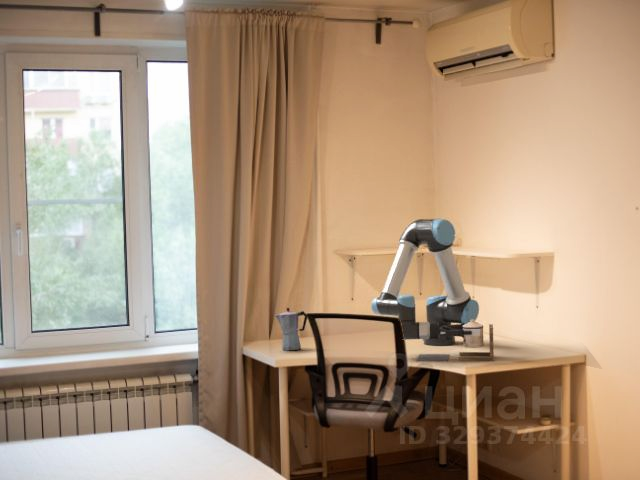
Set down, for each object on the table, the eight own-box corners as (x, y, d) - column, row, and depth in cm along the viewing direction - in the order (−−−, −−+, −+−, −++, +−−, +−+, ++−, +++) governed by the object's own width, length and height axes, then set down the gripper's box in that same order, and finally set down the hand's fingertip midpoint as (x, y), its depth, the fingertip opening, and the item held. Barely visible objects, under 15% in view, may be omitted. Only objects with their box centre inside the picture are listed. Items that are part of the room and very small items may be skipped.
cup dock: (459, 355, 380) (458, 324, 379) (493, 355, 377) (492, 324, 376) (458, 360, 367) (457, 328, 366) (493, 361, 364) (493, 328, 364)
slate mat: (419, 355, 383) (419, 354, 383) (448, 355, 381) (448, 354, 381) (417, 360, 370) (417, 359, 370) (447, 361, 367) (447, 359, 367)
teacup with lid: (464, 344, 379) (463, 318, 378) (485, 344, 376) (484, 318, 376) (460, 349, 367) (459, 321, 367) (481, 349, 365) (480, 322, 364)
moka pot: (275, 348, 414) (274, 307, 413) (307, 347, 415) (306, 305, 414) (276, 351, 404) (275, 309, 403) (309, 350, 405) (307, 308, 405)
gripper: (431, 334, 387) (480, 333, 383) (428, 343, 363) (480, 343, 359) (430, 317, 387) (479, 317, 383) (427, 326, 363) (479, 325, 359)
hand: (479, 329), depth 371 cm, fingers closed on teacup with lid, 12 cm apart
